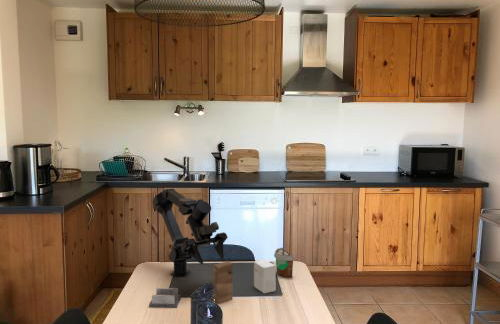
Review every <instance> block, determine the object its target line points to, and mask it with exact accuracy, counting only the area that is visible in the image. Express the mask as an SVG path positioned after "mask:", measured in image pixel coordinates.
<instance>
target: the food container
mask: <svg viewBox="0 0 500 324" xmlns="http://www.w3.org/2000/svg"><path fill="white" fill-rule="evenodd" d="M273 256H274V258H275V265H276V275H277V276H279V277H280V278H293V269H294V267H293V266H294V260H295V257H294V255H291V254H290V253H289V252H288V251H286V250H285V249H284V247H279V248H277V249H276V250H275V251H274V254H273Z"/></svg>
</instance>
